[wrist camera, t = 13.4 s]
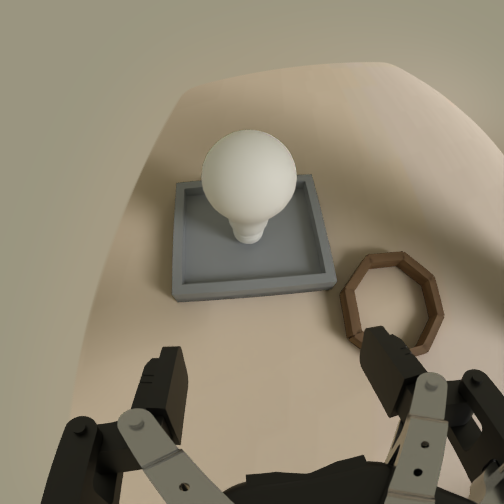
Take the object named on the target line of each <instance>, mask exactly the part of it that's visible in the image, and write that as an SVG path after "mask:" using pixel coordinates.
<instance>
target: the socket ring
mask: <svg viewBox="0 0 504 504" xmlns="http://www.w3.org/2000/svg"><path fill="white" fill-rule="evenodd" d="M391 266H397V267H398V268H400V269H401V270H402V271H403V272H405V273H406V274H407V275H408V276H410V277H411V278H412V279H413V280H415V281H416V282H417V283H418V284H420V285H421V287H422V290H423V294H424V298H425V302H426V307H427V311H428V315H429V320H428V322H427V324H426V326H425V328H424V330H423V332H422V334H421V336H420V338H419V340H418V342H417V344H416V346H415V347H413V348H410V351H411V352H412V354H414V356H419V355H422V354H425V353H427V352H428V351H429V349H430V347H431V345H432V343H433V341H434V339H435V337H436V335H437V332H438V330H439V328H440V326H441V323H442V321H443V319H444V311H443V307H442V303H441V299H440V295H439V291H438V287H437V284H436V280H435V277H433V276H434V275H433V274H431V273H430V272H429V271H428V270H427V269H425V268H424V267H423V266H422V265H420V264H419V263H418V262H417V261H415V260H414V259H413V258H412V257H410V256H409V255H408V254H407V253H405V252H404V253H403V251H401V252H390V253H379V254H368V255H367V256H366V257H365V258H364V259H363V260H362V262H361V263H360V265H359V266H358V268H357V269H356V271H355V272H354V274H353V275H352V277H351V278H350V280H349V281H348V282H347V284H346V285H345V287H344V288H343V290H342V291H341V293H340V300H341V305H342V311H343V317H344V322H345V328H346V334H347V338H349V339H348V340H349V341H350V342H352V343H353V344H354V345H356V346H357V347H358V348H360V349H361V347H362V341H363V336H364V332H363V331H362V329H361V323H360V318H359V312H358V307H357V302H356V297H355V292H354V291H355V289H356V288H357V286H358V285H359V283H360V282H361V280H362V279H363V277H364V275H365V274H366V272H367V271H368V269H374V268H383V267H391Z"/></svg>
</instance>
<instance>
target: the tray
mask: <svg viewBox="0 0 504 504" xmlns="http://www.w3.org/2000/svg"><path fill="white" fill-rule="evenodd" d="M336 282H337V278H336V273H335V268H334V263H333V259H332V254H331V250H330V245H329V241H328V237H327V232H326V228H325V224H324V220H323V216H322V212H321V208H320V204H319V200H318V196H317V193H316V189H315V185H314V181H313V178H312V174H309V175H297V181H296V187H295V191H294V193H293V196H292V198H291V199H290V201H289V202H288V204H287V205H286V206H285V208H284V209H283V210H282V211H280V212H279V213H278V214H277V215H275V216H273V217H272V218H270V219H268V223H267V225H266V227H265V228H264V231H263V234H262V237H261V238H260V240H258V241H257V242H255V243H253V244H244V243H241V242H240V241H238V240H237V239H236V237H235V235H234V233H233V228H232V227H231V225H230V223H229V219H228V218H226V217H225V216H223V215H222V214H220V213H219V212H218V211H217V210H215V209H214V208H213V206H212V205H211V204H210V202H209V201H208V199H207V197H206V195H205V193H204V191H203V186H202V181H192V182H182V183H177V184H176V198H175V213H174V233H173V262H172V295H173V297H174V298H175V299H176V301H177V302H189V301H206V300H221V299H235V298H248V297H260V296H271V295H282V294H292V293H302V292H312V291H321V290H330V289H332V287H333V286H334V285H335V284H336Z"/></svg>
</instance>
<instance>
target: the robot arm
mask: <svg viewBox="0 0 504 504" xmlns="http://www.w3.org/2000/svg"><path fill="white" fill-rule="evenodd" d="M360 364H361V367H362V369H363V371H364V373H365V375H366V376H367V378H368V380H369V382H370V384H371V385H372V387H373V389H374V391H375V393H376V394H377V396H378V398H379V400H380V402H381V404H382V405H383V407H384V409H385V411H386V413H387V415H388V417H389V418H391V417H394V416H397V415H399V417H400V420H399V423H398V426H397V429H396V432H395V436H394V439H393V442H392V445H391V448H390V451H389V453H388V456H387V458H386V460H385V462H384V463H382V462H371V461H367V462H366V459H365V457H364V455H361V456H357V457H353V458H349V459H345V460H341V461H337V462H335V463H332V464H330V465H328V466H326V467H324V468H321V469H319V470H317V471H314V472H312V473H308V474H300V473H283V472H272V473H262V474H249V475H246V482H243V483H240V484H237V485H235V486H232V487H231V488H229V489H227V490H225V491H224V492H222V491H221V490H220V489H219V488H218V487H217V486H216V485H215V484H214V483H213V482H212V481H211V480H210V479H209V478H208V477H207V476H206V475H205V474H204V473H203V472H202V471H201V470H200V469H199V468H198V466H197V465H196V464H195V463H194V462H193V461H192V460H191V459H190V457H189V456H188V455H187V454H186V453H185V452H184V451H183V450H182V449H178V447H177V446H176V445H181V437H182V429H183V421H184V413H185V405H186V398H187V390H188V374H187V370H186V366H185V362H184V357H183V353H182V349H181V347H180V346H175V347H163V348H162V350H161V354H160V357H159V358H152V359H151V360H150V361H149V362H148V363H147V364H146V365H145V367H144V370H143V373H142V376H141V379H140V383H139V385H138V388H137V391H136V394H135V398H134V401H133V404H132V407H131V409H130V410H128V411H126V412H124V413H123V414H122V415H121V416H120V417H119V419H118V421H116V422H112V423H105V424H98V425H97V424H96V423H95V421H94V420H93V419H91V418H89V417H86V416H79V417H76V418H74V419H72V420H70V421H69V422H68V423H67V425H66V427H65V430H64V432H63V435H62V438H61V440H60V443H59V446H58V449H57V451H56V455H55V457H54V460H53V463H52V466H51V470H50V473H49V476H48V479H47V483H46V487H45V490H44V494H43V497H42V501H41V504H119V500H120V492H121V485H122V478H123V472H127V471H134V470H140V469H143V471H144V473H145V474H146V476H147V477H148V478H149V480H150V481H151V483H152V484H153V486H154V487H155V488H156V490H157V491H158V492H159V494H160V495H161V497H162V498H163V499H164V500H165V502H166V503H167V504H504V396H503V395H502V393H501V392H500V391H499V389H498V388H497V387H496V386H495V385H494V383H493V382H492V381H491V380H490V378H489V377H488V376H487V375H486V374H485V373H484V372H482V371H480V370H475V369H472V370H468V371H466V372H465V373H464V375H463V377H462V379H461V380H455V381H446V380H445V378H444V377H442V376H441V375H439V374H437V373H433V372H427V371H426V370H425V368H424V367H423V366H422V364H421V363H420V362H419V361H418V359H417V358H416V357H415V356H414V354H412V352H411V351H410V349H409V348H407V346H406V344H405V343H404V342H403V341H402V340H401V339H400V338H398V337H396V336H395V335H393V334H392V335H389V333H388V332H387V331H386V330H385V328H384V327H383V326H376V327H371V328H366V329H365V331H364V336H363V341H362V347H361V352H360ZM473 413H474V414H475V415H476V417H477V418H478V420H479V421H480V423H481V425H482V432H481V430H480V429H479V427H478V426H477V424H476V422H475V421H474V419H473V418H472V415H473ZM447 437H448V439H449V440H450V442H451V444H452V446H453V448H454V450H455V452H456V454H457V455H458V457H459V459H460V461H461V463H462V465H463V467H464V469H465V471H466V473H467V475H468V477H469V479H470V481H471V483H472V484H471V486H470V495H469V497H468V499H467V498H464V497H462V496H459V495H456V494H454V493H451V492H449V491H447V490H444V489H442V488H439V487H437V483H438V479H439V475H440V470H441V466H442V461H443V456H444V450H445V444H446V438H447Z"/></svg>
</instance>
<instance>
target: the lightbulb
mask: <svg viewBox="0 0 504 504" xmlns="http://www.w3.org/2000/svg"><path fill="white" fill-rule="evenodd" d="M201 179H202V186H203V191H204V193H205V195H206V197H207V199H208V201H209V202H210V204H211V205H212V206H213V208H214V209H215V210H217V211H218V212H219V213H220V214H222V215H223V216H225V217H226V218H228V219H229V223H230V225H231V227H232V228H233V233H234V235H235V237H236V239H237V240H238V241H240V242H241V243H244V244H253V243H255V242H257V241H258V240H260V238H261V237H262V234H263V231H264V228H265V227H266V225H267V223H268V219H270V218H272V217H273V216H275V215H277V214H278V213H279V212H280V211H282V210H283V209H284V208H285V206H286V205H287V204H288V202H289V201H290V199H291V198H292V196H293V193H294V191H295V187H296V181H297V175H296V166H295V163H294V160H293V158H292V155H291V153H290V152H289V150H288V149H287V148H286V147H285V145H284V144H283V143H282V142H281V141H279V140H278V139H277V138H275V137H274V136H272V135H270V134H268V133H266V132H262V131H258V130H240V131H236V132H233V133H230V134H228V135H226V136H225V137H223V138H222V139H220V140H219V141H218V142H217V143H216V144H214V146H213V147H212V148H211V149H210V151H209V152H208V153H207V156H206V158H205V161H204V163H203V168H202V175H201Z"/></svg>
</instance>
